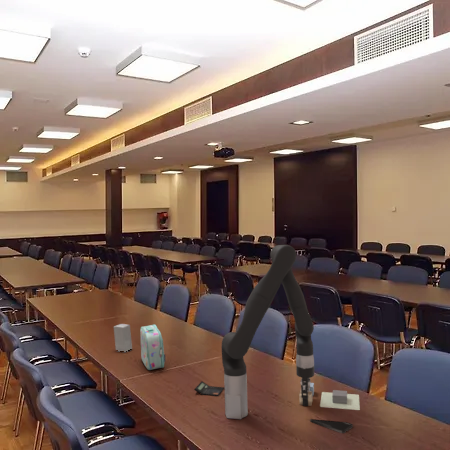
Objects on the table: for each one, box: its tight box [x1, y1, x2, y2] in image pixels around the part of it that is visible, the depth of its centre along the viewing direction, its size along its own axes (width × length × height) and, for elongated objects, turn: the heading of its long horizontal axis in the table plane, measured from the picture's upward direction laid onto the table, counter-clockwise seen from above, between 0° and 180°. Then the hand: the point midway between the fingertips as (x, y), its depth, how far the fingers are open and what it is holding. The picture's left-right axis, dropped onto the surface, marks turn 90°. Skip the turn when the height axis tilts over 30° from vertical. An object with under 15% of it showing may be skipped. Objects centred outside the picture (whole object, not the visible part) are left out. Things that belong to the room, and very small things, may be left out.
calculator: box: [193, 380, 225, 397], centre depth 213 cm, size 9×12×3 cm
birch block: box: [298, 390, 313, 407], centre depth 195 cm, size 5×5×5 cm
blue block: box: [309, 382, 315, 397], centre depth 205 cm, size 5×5×5 cm
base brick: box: [332, 389, 348, 404], centre depth 196 cm, size 6×6×3 cm
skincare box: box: [113, 323, 133, 353], centre depth 280 cm, size 8×7×16 cm
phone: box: [309, 418, 353, 434], centre depth 177 cm, size 8×1×15 cm
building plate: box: [319, 391, 361, 411], centre depth 196 cm, size 16×16×1 cm
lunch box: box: [139, 323, 166, 371], centre depth 252 cm, size 27×10×21 cm, turn 20°
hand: (306, 403), depth 195 cm, fingers open, 5 cm apart
